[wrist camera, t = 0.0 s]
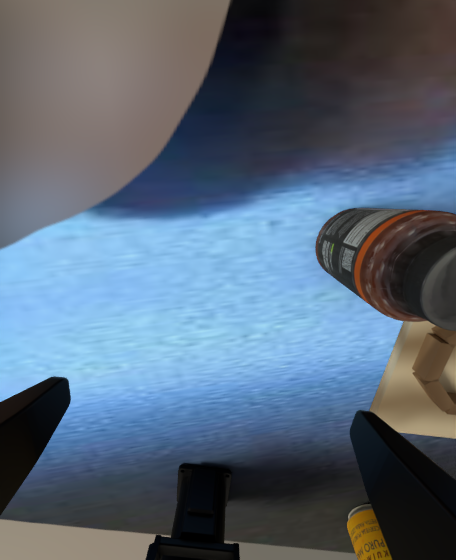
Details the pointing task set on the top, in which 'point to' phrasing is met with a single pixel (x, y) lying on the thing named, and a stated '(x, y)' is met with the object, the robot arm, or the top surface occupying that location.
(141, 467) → the top surface
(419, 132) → the top surface
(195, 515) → the robot arm
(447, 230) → the supplement bottle
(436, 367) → the holder board
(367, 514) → the beer can
